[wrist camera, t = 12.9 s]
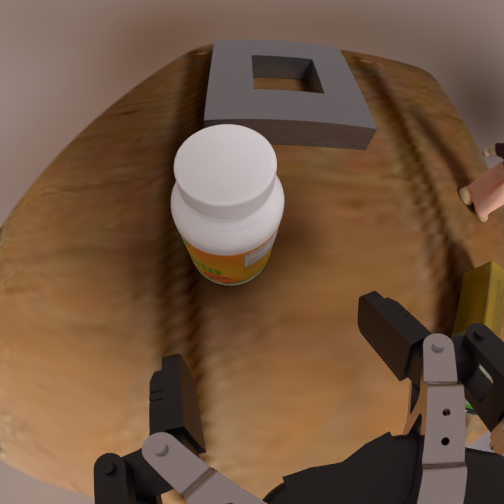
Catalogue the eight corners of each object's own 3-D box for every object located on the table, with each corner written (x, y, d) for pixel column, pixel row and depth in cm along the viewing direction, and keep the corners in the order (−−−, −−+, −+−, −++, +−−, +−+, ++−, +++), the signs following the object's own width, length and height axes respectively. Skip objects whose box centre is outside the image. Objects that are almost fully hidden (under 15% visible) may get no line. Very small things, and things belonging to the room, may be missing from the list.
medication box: (447, 412, 16) (479, 417, 12) (427, 407, 16) (460, 413, 12) (479, 283, 20) (508, 270, 16) (462, 271, 20) (491, 257, 16)
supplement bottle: (175, 248, 19) (129, 163, 10) (231, 199, 21) (228, 97, 12) (229, 303, 18) (220, 255, 9) (285, 248, 20) (323, 163, 10)
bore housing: (207, 144, 22) (203, 119, 20) (215, 60, 27) (214, 40, 24) (365, 150, 23) (377, 129, 20) (333, 66, 28) (338, 47, 25)
